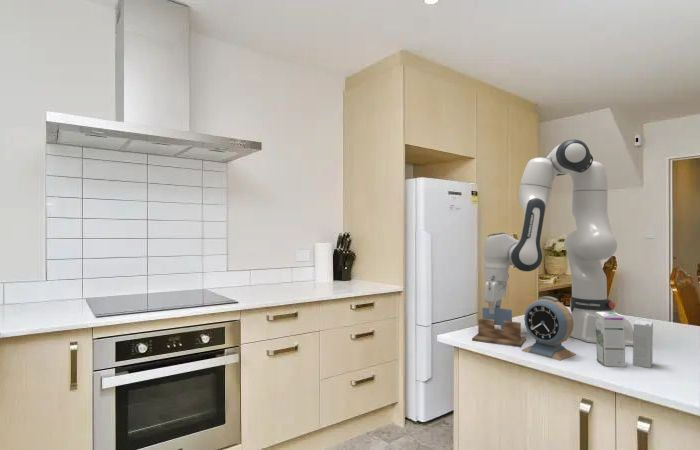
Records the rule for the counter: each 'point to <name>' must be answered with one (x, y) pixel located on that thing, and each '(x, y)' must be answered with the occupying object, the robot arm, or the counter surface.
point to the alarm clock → (549, 328)
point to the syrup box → (610, 339)
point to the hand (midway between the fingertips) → (495, 311)
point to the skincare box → (643, 343)
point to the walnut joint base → (499, 333)
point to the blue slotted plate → (498, 315)
